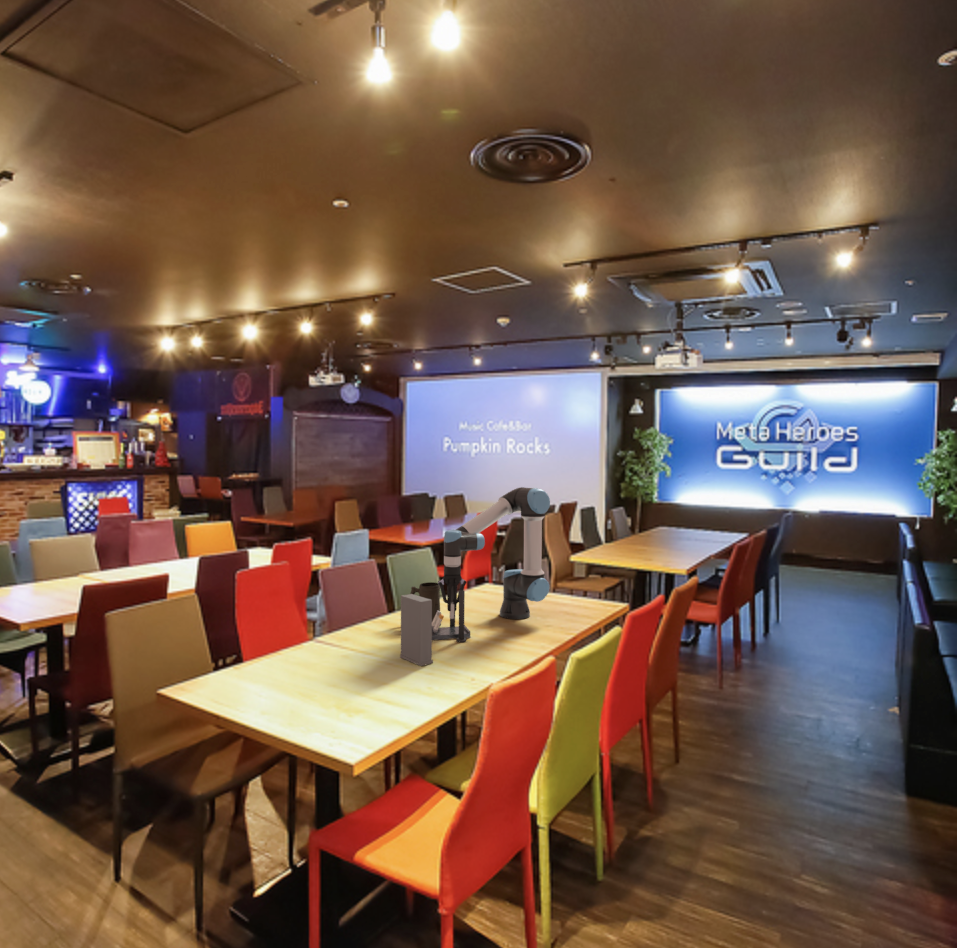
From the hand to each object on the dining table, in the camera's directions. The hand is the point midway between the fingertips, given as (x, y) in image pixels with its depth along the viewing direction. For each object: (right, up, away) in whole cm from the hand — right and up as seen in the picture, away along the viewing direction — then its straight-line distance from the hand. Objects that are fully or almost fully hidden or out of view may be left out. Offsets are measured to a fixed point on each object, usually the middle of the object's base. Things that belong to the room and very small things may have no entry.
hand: (451, 618), depth 288 cm
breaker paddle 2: (-7, -5, -2) cm, 9 cm away
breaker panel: (-5, -8, +1) cm, 9 cm away
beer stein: (-14, -8, +18) cm, 24 cm away
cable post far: (0, -8, +10) cm, 13 cm away
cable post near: (+4, -8, -7) cm, 12 cm away
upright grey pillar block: (-12, -10, -33) cm, 37 cm away
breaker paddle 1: (-9, -5, +4) cm, 11 cm away
